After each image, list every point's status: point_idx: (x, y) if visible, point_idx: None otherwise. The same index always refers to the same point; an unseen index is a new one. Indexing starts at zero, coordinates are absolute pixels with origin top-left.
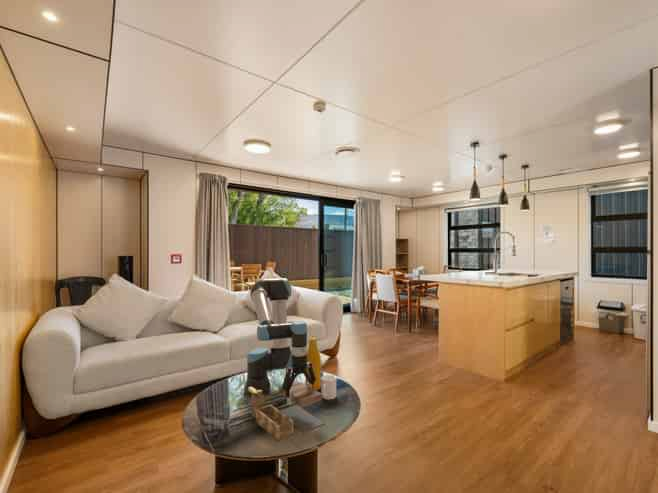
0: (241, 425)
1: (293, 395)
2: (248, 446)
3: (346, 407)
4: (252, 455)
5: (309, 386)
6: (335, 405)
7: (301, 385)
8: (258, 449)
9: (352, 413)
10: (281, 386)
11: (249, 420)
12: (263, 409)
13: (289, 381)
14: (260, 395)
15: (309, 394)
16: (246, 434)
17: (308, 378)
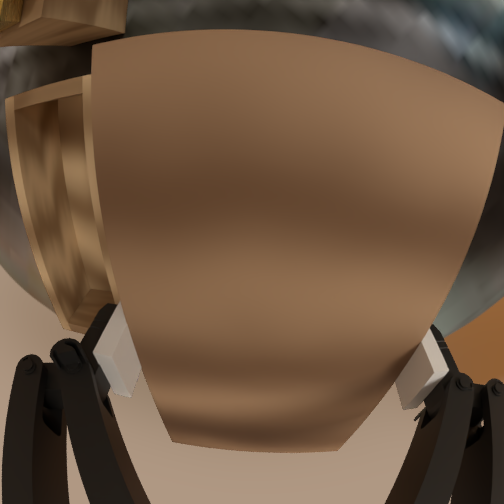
0: (10, 84)
1: (150, 386)
2: (10, 243)
3: (480, 292)
4: (20, 286)
5: (403, 379)
6: (483, 250)
7: (406, 294)
8: (33, 277)
9: (445, 333)
10: (123, 79)
11: (44, 52)
12: (45, 101)
13: (87, 467)
14: (2, 26)
15: (270, 437)
16: (8, 169)
17: (397, 478)
